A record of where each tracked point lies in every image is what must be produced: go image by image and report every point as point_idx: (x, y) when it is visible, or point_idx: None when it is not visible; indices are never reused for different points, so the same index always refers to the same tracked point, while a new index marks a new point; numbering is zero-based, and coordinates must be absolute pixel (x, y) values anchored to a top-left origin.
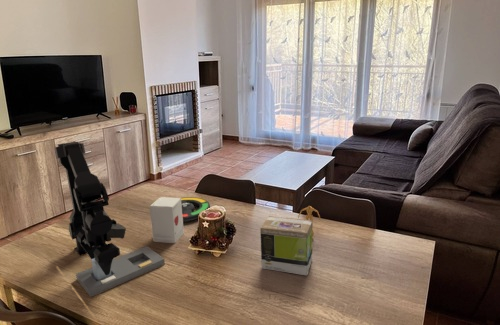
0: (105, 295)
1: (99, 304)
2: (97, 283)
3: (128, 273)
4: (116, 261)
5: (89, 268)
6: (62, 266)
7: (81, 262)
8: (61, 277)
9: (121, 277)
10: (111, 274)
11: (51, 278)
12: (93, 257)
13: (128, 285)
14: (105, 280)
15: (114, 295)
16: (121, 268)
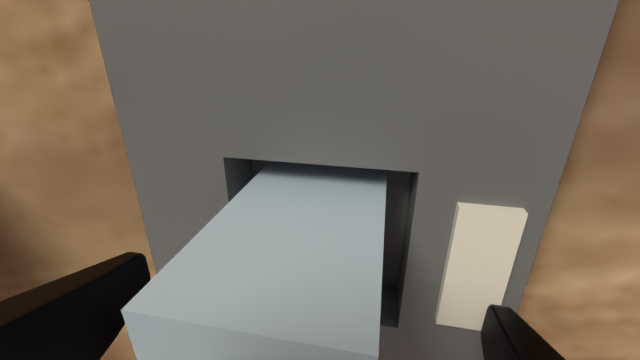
0: (533, 287)
1: (595, 355)
2: (437, 341)
3: (581, 43)
4: (169, 33)
5: (155, 269)
6: (11, 281)
7: (2, 199)
8: (123, 330)
9: (564, 154)
10: (384, 191)
11: (108, 355)
12: (88, 345)
13: (606, 93)
14: (471, 298)
15: (611, 251)
16: (370, 59)
